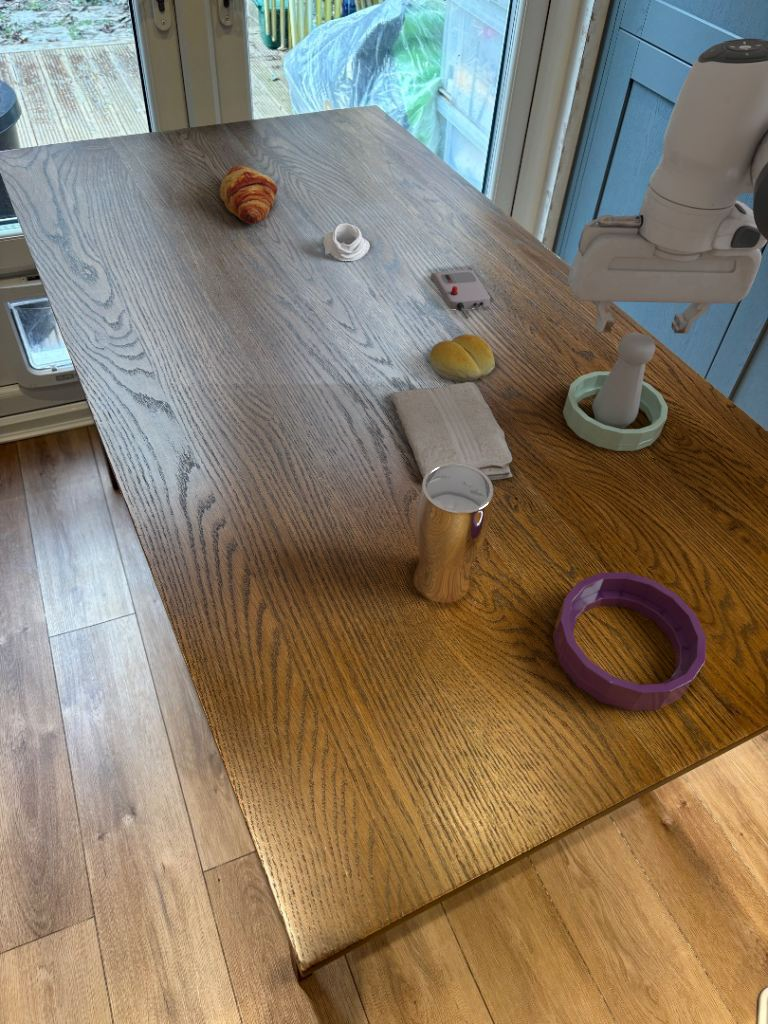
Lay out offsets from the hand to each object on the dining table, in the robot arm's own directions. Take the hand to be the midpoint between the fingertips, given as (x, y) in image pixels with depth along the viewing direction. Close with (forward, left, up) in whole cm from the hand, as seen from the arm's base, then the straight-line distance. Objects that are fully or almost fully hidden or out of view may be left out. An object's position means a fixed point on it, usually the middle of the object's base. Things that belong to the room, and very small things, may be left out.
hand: (640, 330), depth 89 cm
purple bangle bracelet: (+9, +35, -15) cm, 39 cm away
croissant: (+50, -62, -15) cm, 81 cm away
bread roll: (+18, -13, -15) cm, 26 cm away
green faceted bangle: (0, 0, -15) cm, 15 cm away
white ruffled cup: (+33, -45, -15) cm, 57 cm away
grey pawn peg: (0, 0, -14) cm, 14 cm away
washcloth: (+22, +3, -15) cm, 26 cm away
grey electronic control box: (+15, -32, -15) cm, 38 cm away
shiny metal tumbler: (+26, +26, -15) cm, 40 cm away
